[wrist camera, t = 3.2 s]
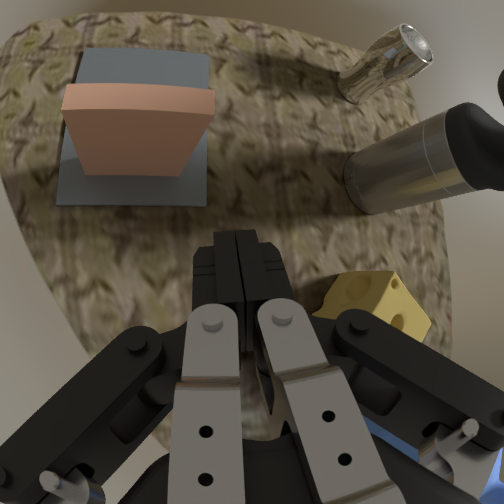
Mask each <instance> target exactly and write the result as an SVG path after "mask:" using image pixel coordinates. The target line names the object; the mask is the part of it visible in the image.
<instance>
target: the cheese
mask: <svg viewBox="0 0 504 504" xmlns="http://www.w3.org/2000/svg"><path fill="white" fill-rule="evenodd" d="M323 303H324V304H323V306H322V308H321V309H320V310H318V311H317V312H314V313H312V314H311V315H313V316H316V317H322V318H329V319H337V317H338V316H339V314H340V313H342V312H343V311H345V310H348V309H362V310H365V311H368V312H370V313H371V314H373V315H375V316H377V317H378V318H380V319H382V320H383V321H385V322H387V323H389V324H390V325H392V326H394V327H395V328H397V329H399V330H400V331H402V332H404V333H406V334H407V335H409V336H411V337H412V338H414V339H416V340H417V341H419V342H421V343H422V341H423V339H424V337H425V335H426V333H427V331H428V329H429V327H430V326H431V321H430V320H429V318H428V317H427V315H426V314H425V312H424V311H423V310H422V309H421V307H420V306H419V305H418V304H417V302H416V301H415V300H414V299H413V297H412V296H411V295H410V293H409V292H408V290H407V289H406V287H405V286H404V284H403V283H402V281H401V280H400V278H399V277H398V275H397V274H396V273H395V272H394V271H355V272H346V273H341V274H339V276H338V277H337V279H336V280H335V282H334V283H333V285H332V286H331V288H330V289H329V291H328V292H327V294H326V295H325V297H324V301H323Z"/></svg>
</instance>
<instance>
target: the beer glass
mask: <svg viewBox="0 0 504 504" xmlns="http://www.w3.org/2000/svg"><path fill="white" fill-rule="evenodd" d="M433 62H434V55H433V52H432V50H431V48H430V46H429V44H428V43H427V41H426V40H425V39H424V37H423V36H422V35H421V34H420V33H419V32H418V31H417V30H415V29H414V28H413V27H412V26H410V25H408V24H405V23H401V24H400V25H399V26H397V27H395V28H393V29H392V30H390V31H388V32H387V33H385V34H384V35H383V36H381V37H380V38H379V39H377V40H376V41H375V42H374V43H373V44H372V45H371V46H370V47H369V48H368V49H367V51H366V52H365V53H364V54H363V56H362V57H361V58H360V59H359V60H358V62H357V63H356V64H355V65H353V66H352V67H351V68H349V69H347V70H345V71H342V72H341V73H339V74H338V75H337V78H336V84H337V87H338V89H339V91H340V93H341V94H342V95H343V96H344V97H345V98H346V99H347V100H348V101H350V102H351V103H353V104H357V105H361V104H363V103H365V102H366V101H367V100H368V99H369V98H370V97H371V96H372V95H373V94H374V93H376V92H378V91H379V90H382V89H385V88H387V87H390V86H393V85H396V84H399V83H401V82H404V81H406V80H408V79H410V78H412V77H413V76H415V75H416V74H418V73H419V72H421V71H422V70H423V69H425V68H426V67H428V66H429V65H431V64H433Z"/></svg>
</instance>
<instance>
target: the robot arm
mask: <svg viewBox="0 0 504 504" xmlns="http://www.w3.org/2000/svg"><path fill="white" fill-rule="evenodd" d="M498 93H499V96H500V98H501V101H502V103H503V106H504V70H503V71H502V72H501V74H500V76H499V79H498ZM344 182H345V186H346V190H347V192H348V194H349V196H350V198H351V200H352V201H353V203H354V204H355V205H356V206H357V207H358V208H359V209H361V210H362V211H363V212H365V213H368V214H380V213H384V212H388V211H392V210H397V209H401V208H406V207H410V206H414V205H419V204H423V203H427V202H431V201H436V200H440V199H444V198H449V197H453V196H457V195H461V194H465V193H470V192H474V191H478V190H483V189H493V190H497V191H504V126H503V125H502V124H500V123H499V122H497V121H496V120H495V119H493V118H492V117H491V116H490V115H489V114H488V113H486V112H485V111H484V110H483V109H482V108H480V107H479V106H477V105H476V104H473V103H469V102H468V103H462V104H460V105H457V106H455V107H453V108H451V109H448V110H446V111H444V112H442V113H439V114H437V115H435V116H433V117H431V118H429V119H426V120H424V121H422V122H420V123H418V124H415V125H413V126H411V127H409V128H407V129H405V130H402V131H400V132H398V133H396V134H394V135H392V136H390V137H388V138H386V139H383V140H381V141H379V142H377V143H375V144H373V145H371V146H369V147H367V148H364V149H362V150H360V151H358V152H356V153H354V154H353V155H351V156H350V157H349V158H348V160H347V162H346V164H345V168H344ZM213 236H214V246H205V247H199V248H198V250H197V251H196V253H195V254H194V256H193V289H192V313H191V314H190V315H189V317H188V320H187V321H186V322H185V323H184V324H183V325H181V326H180V327H178V328H176V329H174V330H171V331H168V332H165V333H162V334H159V333H158V332H157V331H155V330H154V329H152V328H150V327H146V326H135V327H131V328H129V329H127V330H125V331H123V332H122V333H121V334H119V335H118V336H117V337H116V338H115V339H114V340H113V341H112V342H111V343H110V344H108V345H107V346H106V347H105V348H104V349H103V350H102V351H101V352H100V353H99V354H97V355H96V356H95V357H94V358H93V359H92V360H91V361H90V362H89V363H88V364H87V365H85V366H84V368H82V369H81V370H80V371H79V372H78V373H77V374H76V375H75V376H74V377H73V378H71V379H70V380H69V381H68V382H67V383H66V384H65V385H64V386H63V387H62V388H61V389H60V390H59V391H58V392H56V394H54V395H53V396H52V397H51V398H50V399H49V400H48V401H47V402H46V403H45V404H44V405H43V406H42V407H41V408H40V409H39V410H37V412H35V413H34V414H33V415H32V416H31V417H30V418H29V419H28V420H27V421H26V422H25V423H24V424H23V425H22V426H21V427H20V428H19V429H18V430H17V431H16V432H15V433H14V434H13V435H12V436H11V437H10V438H9V439H7V440H6V441H5V442H4V443H3V444H2V445H1V446H0V502H2V503H4V504H105V503H106V502H105V501H106V499H105V494H104V491H103V489H102V488H101V486H102V485H103V484H104V483H105V481H106V480H108V478H109V477H110V476H111V475H112V474H113V473H114V472H115V471H116V470H117V469H118V468H119V467H120V466H121V465H122V464H123V463H124V462H125V460H126V459H127V458H128V457H129V456H130V455H131V454H132V453H133V452H134V451H135V450H136V449H137V447H138V446H139V445H140V444H141V443H142V442H143V441H144V440H145V439H146V437H147V436H148V435H149V434H150V433H151V432H152V431H153V430H154V429H155V428H156V426H157V425H158V424H159V423H160V422H161V421H162V420H163V419H164V418H165V416H166V415H167V414H168V413H169V412H170V411H171V410H172V408H173V416H172V429H171V442H170V453H168V454H166V455H164V456H162V457H161V458H159V459H158V460H156V461H155V462H154V463H153V464H152V465H150V466H149V467H148V468H147V469H146V471H145V472H144V473H143V474H142V475H141V477H140V478H139V479H138V480H137V481H136V483H135V484H134V485H133V486H132V487H131V488H130V490H129V491H128V492H127V493H126V494H125V496H124V497H123V498H122V499H121V500H120V501H119V503H118V504H481V502H480V501H479V499H480V497H481V495H482V493H483V491H484V488H485V486H486V484H487V482H488V479H489V477H490V474H491V472H492V470H493V467H494V464H495V462H496V459H497V457H498V454H499V451H500V450H501V448H503V447H504V392H503V391H502V390H500V389H498V388H497V387H495V386H493V385H491V384H490V383H488V382H486V381H485V380H483V379H482V378H480V377H478V376H476V375H475V374H473V373H471V372H470V371H468V370H466V369H465V368H463V367H461V366H459V365H458V364H456V363H455V362H453V361H451V360H450V359H448V358H446V357H444V356H443V355H441V354H439V353H438V352H436V351H434V350H433V349H431V348H429V347H428V346H426V345H424V344H423V343H421V342H419V341H417V340H416V339H414V338H412V337H411V336H409V335H407V334H406V333H404V332H402V331H400V330H399V329H397V328H395V327H394V326H392V325H390V324H389V323H387V322H385V321H383V320H382V319H380V318H378V317H377V316H375V315H373V314H371V313H370V312H368V311H365V310H362V309H348V310H345V311H343V312H342V313H340V314H339V316H338V317H337V319H329V318H322V317H316V316H313V315H311V314H308V313H307V312H306V311H305V310H304V308H303V307H302V306H301V305H300V304H299V303H297V302H296V300H295V297H294V294H293V291H292V288H291V285H290V282H289V279H288V276H287V273H286V270H285V267H284V264H283V262H282V258H281V255H280V252H279V250H278V249H277V248H276V247H275V246H274V245H273V244H272V243H271V242H266V243H259V242H258V238H257V234H256V230H255V229H252V230H236V231H235V238H234V232H233V231H221V232H213ZM245 343H246V350H247V351H253V350H254V353H255V359H256V367H255V370H256V375H257V379H258V382H259V386H260V390H261V394H262V398H263V401H264V405H265V409H266V412H267V416H268V421H269V428H270V436H271V441H255V440H247V439H242V427H241V403H240V378H239V372H240V370H241V352H244V351H245ZM362 415H363V416H365V417H366V418H368V419H369V420H371V421H372V422H374V423H375V424H377V425H379V426H380V427H382V428H383V429H385V430H386V431H388V432H390V433H391V434H393V435H394V436H396V437H398V438H399V439H401V440H402V441H404V442H406V443H407V444H409V445H411V446H412V447H414V448H416V449H417V450H418V457H419V459H418V462H416V461H415V460H413V459H412V458H410V457H409V456H407V455H406V454H404V453H403V452H401V451H400V450H398V449H397V448H395V447H394V446H392V445H391V444H389V443H388V442H386V441H385V440H383V439H382V438H380V437H378V436H376V435H374V434H372V433H370V432H369V430H368V428H367V425H366V423H365V421H364V419H363V416H362Z"/></svg>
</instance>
